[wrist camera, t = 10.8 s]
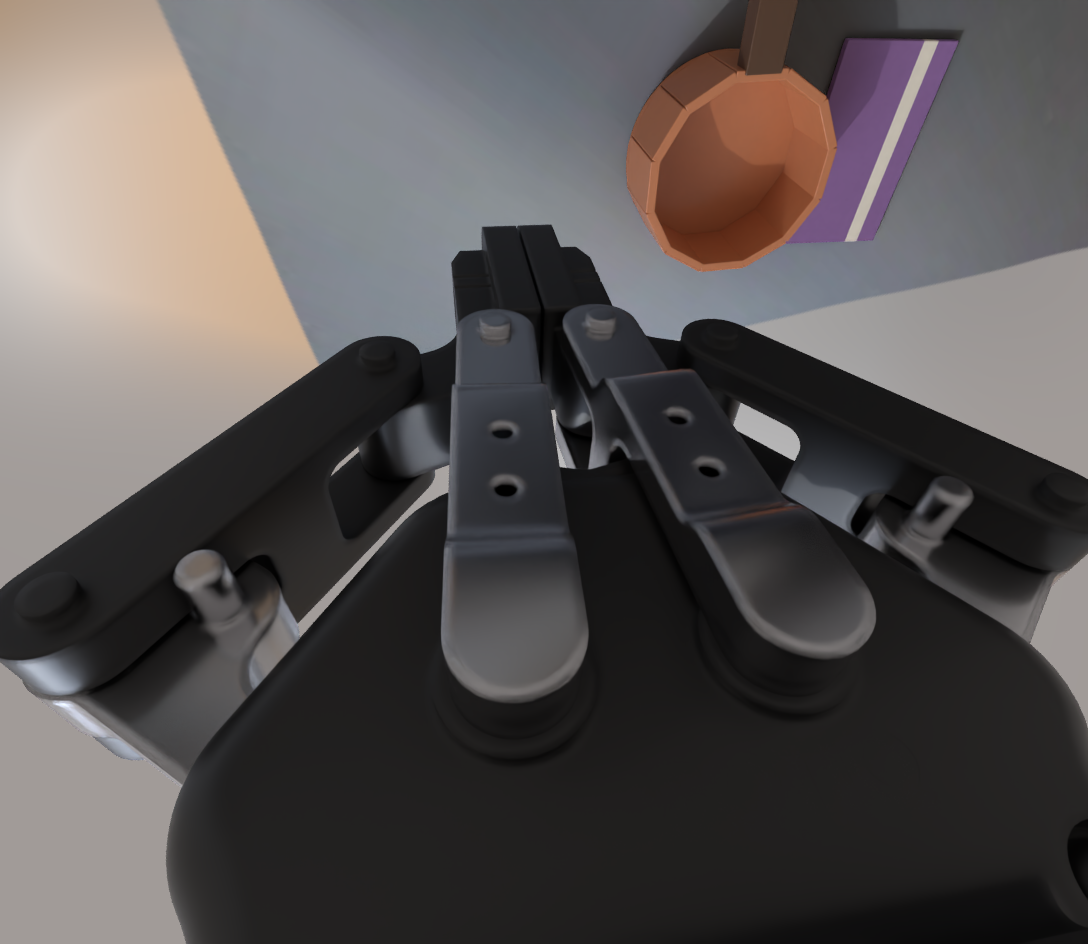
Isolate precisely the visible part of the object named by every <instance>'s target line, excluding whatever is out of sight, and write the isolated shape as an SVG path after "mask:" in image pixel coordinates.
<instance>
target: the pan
mask: <svg viewBox="0 0 1088 944" xmlns="http://www.w3.org/2000/svg"><path fill="white" fill-rule="evenodd" d="M797 4H798V0H749V3H748V8H747V14H746V19H745V25H744V30H743V36H742V41H741V47H740V49H729V48H728V49H721V50H715V51H712V52H708V53H705V54H702V55H700V56H698V57H696V58H693V59H691V60H690V61H688V62H686V63H685V64H683V65H682V66H680V67H679V68H677V69H676V70H675V71H674V72H672V73H671V74H670V75H669V76H668V77H667V78H666V79H665V80H664V81H663V82H662V83H661V84H660V85H659V86H658V87H657V88H656V90H655V91H654V92H653V93H652V94H651V96H650V97H649V99H648V100H647V102H646V103H645V105H644V107H643V108H642V110H641V112H640V114H639V116H638V118H637V120H636V122H635V125H634V128H633V130H632V133H631V137H630V141H629V145H628V151H627V158H626V173H627V186H628V187H627V188H628V190H629V192H630V194H631V197H632V199H633V202H634V204H635V205H636V207H637V209H638V211H639V213H640V215H641V217H642V219H643V221H644V223H645V225H646V226H647V228H648V229H649V231H650V232H651V234H652V235H653V237H654V238H655V240H656V242H657V243H658V245H659V246H660V248H661V249H662V251H663V252H664V253H665V254H666V255H668V256H670V257H672V258H674V259H676V260H678V261H680V262H682V263H683V264H685V265H687V266H689V267H691V268H693V269H695V270H697V271H701V272H704V271H715V270H726V269H737V268H743V266H744V267H746V266H748V265H749V264H751V263H753V262H754V261H756V260H758V259H760V258H761V257H763V256H765V255H766V254H768V253H770V252H772V251H773V250H775V249H777V248H778V247H780V246H782V245H784V244H785V243H786V241H789V239H790V238H791V237H792V236H793V235H794V233H795V232H796V231H797V230H798V228H799V227H800V226H801V225H802V223H803V222H804V221H805V220H806V218H807V217H808V216H809V215H810V213H811V212H812V211H813V210H814V208H815V207H816V206H817V205H818V203H819V202H820V201H821V200H820V199H822V196H823V193H824V190H825V187H826V183H827V180H828V177H829V174H830V170H831V167H832V164H833V161H834V157H835V154H836V151H837V148H836V147H837V141H836V136H835V131H834V126H833V121H832V116H831V111H830V106H829V101H828V98H827V96H826V95H825V94H823V93H822V92H821V91H819V90H818V89H817V88H816V87H814V86H813V85H812V84H811V83H809V82H808V81H807V80H806V79H804V78H803V77H802V76H801V75H799V74H798V73H797V72H796V71H794V70H793V69H792V68H790V67H788V66H786V65H784V61H785V56H786V52H787V48H788V43H789V39H790V35H791V30H792V26H793V21H794V17H795V13H796V8H797Z"/></svg>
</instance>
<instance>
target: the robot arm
mask: <svg viewBox="0 0 1088 944" xmlns="http://www.w3.org/2000/svg"><path fill="white" fill-rule="evenodd" d="M451 265H452V279H453V292H454V305H455V319H456V330H457V335H456V336H455V338H454V339H453V340H452V341H451V342H449V343H448V344H447V345H445V346H443V347H441V348H439V349H437V350H434V351H431V352H427V353H423V354H420V352H419V350H418V348H417V347H416V346H415V345H414V344H412V343H411V342H409V341H407V340H405V339H401V338H397V337H391V336H377V337H370V338H365V339H362V340H359V341H356V342H354V343H352V344H350V345H348V346H347V347H345V348H344V349H342V350H341V351H339V352H338V353H337V354H335V355H334V356H332V357H331V358H329V359H328V360H327V361H325V362H324V363H322V364H321V365H319V366H318V367H316V368H315V369H314V370H312V371H311V372H309V373H308V374H306V375H305V376H303V377H302V378H301V379H299V380H298V381H296V382H295V383H293V384H292V385H291V386H289V387H288V388H286V389H285V390H283V391H282V392H281V393H279V394H278V395H276V396H275V397H273V398H272V399H270V400H269V401H268V402H266V403H265V404H263V405H262V406H260V407H259V408H257V409H256V410H255V411H253V412H252V413H250V414H249V415H247V416H246V417H245V418H243V419H242V420H240V421H239V422H237V423H236V424H234V425H233V426H232V427H230V428H229V429H227V430H226V431H224V432H223V433H221V434H220V435H219V436H217V437H216V438H214V439H213V440H211V441H210V442H209V443H207V444H206V445H204V446H203V447H202V448H200V449H198V450H197V451H196V452H194V453H193V454H191V455H190V456H189V457H187V458H186V459H184V460H183V461H181V462H180V463H179V464H177V465H176V466H174V467H173V468H171V469H170V470H168V471H167V472H166V473H164V474H163V475H161V476H160V477H158V478H157V479H156V480H154V481H152V482H151V483H150V484H148V485H147V486H145V487H144V488H142V489H141V490H140V491H138V492H137V493H135V494H134V495H132V496H131V497H129V498H128V499H127V500H125V501H124V502H122V503H121V504H119V505H118V506H116V507H115V508H114V509H112V510H111V511H110V512H108V513H106V514H105V515H104V516H102V517H101V518H99V519H98V520H97V521H95V522H93V523H92V524H91V525H89V526H88V527H86V528H85V529H83V530H82V531H81V532H79V533H78V534H76V535H75V536H73V537H72V538H71V539H69V540H68V541H66V542H65V543H63V544H62V545H60V546H59V547H58V548H56V549H55V550H53V551H52V552H50V553H49V554H47V555H46V556H45V557H43V558H42V559H40V560H39V561H37V562H36V563H35V564H33V565H32V566H30V567H29V568H27V569H26V570H24V571H23V572H22V573H20V574H19V575H17V576H16V577H15V578H13V579H12V580H11V581H9V582H8V583H7V584H6V585H5V586H3V587H2V588H1V589H0V662H1V663H2V664H3V665H5V666H6V667H7V668H8V669H9V670H11V671H12V672H13V673H14V674H15V675H17V676H18V677H19V678H20V679H22V681H23V684H24V685H25V687H26V688H27V689H28V691H30V692H31V693H32V694H34V695H35V696H36V697H37V698H38V699H40V700H41V701H42V702H44V703H45V704H46V705H47V706H48V707H50V708H51V709H52V710H53V711H55V712H56V713H57V714H58V715H60V716H61V717H62V718H64V719H65V720H66V721H67V722H69V723H70V724H71V725H72V726H74V727H75V728H76V729H77V730H79V731H80V732H82V733H84V734H86V735H89V736H92V737H93V738H95V739H96V740H97V741H98V742H100V743H101V744H102V745H103V746H105V747H106V748H107V749H108V750H110V751H111V752H112V753H114V754H115V755H116V756H118V757H120V758H123V759H128V760H143V759H145V760H146V761H147V762H149V763H150V764H151V765H152V766H154V767H155V768H157V769H158V770H159V771H160V772H162V773H163V774H164V775H165V776H167V777H168V778H169V779H171V780H172V781H173V782H174V783H176V784H177V785H179V786H180V787H181V790H180V793H179V796H178V798H177V801H176V804H175V807H174V810H173V814H172V818H171V822H170V826H169V833H168V840H167V851H166V867H167V879H168V885H169V891H170V895H171V899H172V903H173V905H174V908H175V911H176V913H177V916H178V919H179V922H180V924H181V927H182V930H183V934H184V937H185V941H186V944H1088V728H1087V724H1086V721H1085V718H1084V716H1083V713H1082V711H1081V709H1080V707H1079V704H1078V702H1077V701H1076V699H1075V697H1074V695H1073V694H1072V692H1071V690H1070V689H1069V687H1068V685H1067V684H1066V683H1065V681H1064V680H1063V679H1062V677H1061V676H1060V675H1059V673H1058V672H1057V671H1056V669H1055V668H1054V667H1053V666H1052V665H1051V664H1050V663H1049V662H1048V661H1047V660H1046V658H1045V657H1044V656H1043V655H1042V654H1041V653H1039V652H1038V651H1037V650H1036V649H1035V648H1034V647H1033V646H1032V645H1031V644H1030V642H1031V639H1032V636H1033V633H1034V631H1035V628H1036V625H1037V623H1038V620H1039V617H1040V615H1041V612H1042V610H1043V607H1044V604H1045V602H1046V599H1047V596H1048V594H1049V591H1050V588H1051V586H1052V585H1054V584H1055V583H1056V582H1057V581H1058V580H1059V579H1060V578H1061V577H1062V576H1064V575H1065V574H1066V573H1067V572H1068V571H1069V570H1070V569H1071V568H1072V567H1073V566H1074V565H1076V564H1077V563H1078V562H1079V561H1080V560H1081V559H1082V558H1083V557H1085V555H1087V554H1088V479H1086V478H1084V477H1083V476H1081V475H1079V474H1077V473H1075V472H1073V471H1070V470H1068V469H1066V468H1064V467H1062V466H1059V465H1057V464H1055V463H1052V462H1050V461H1048V460H1046V459H1043V458H1041V457H1039V456H1037V455H1034V454H1032V453H1029V452H1027V451H1025V450H1023V449H1021V448H1018V447H1016V446H1014V445H1012V444H1009V443H1007V442H1005V441H1002V440H1000V439H998V438H996V437H993V436H991V435H989V434H986V433H984V432H982V431H980V430H977V429H975V428H973V427H971V426H968V425H966V424H964V423H962V422H959V421H957V420H955V419H952V418H950V417H948V416H946V415H943V414H941V413H938V412H936V411H934V410H932V409H930V408H927V407H925V406H923V405H920V404H918V403H916V402H914V401H911V400H909V399H907V398H905V397H902V396H900V395H898V394H896V393H893V392H891V391H889V390H886V389H884V388H882V387H879V386H877V385H875V384H873V383H871V382H868V381H866V380H864V379H861V378H859V377H857V376H855V375H852V374H850V373H848V372H846V371H843V370H841V369H839V368H836V367H834V366H832V365H830V364H827V363H825V362H823V361H820V360H818V359H816V358H814V357H811V356H809V355H807V354H805V353H802V352H800V351H798V350H796V349H793V348H791V347H789V346H786V345H784V344H782V343H779V342H777V341H775V340H773V339H770V338H768V337H766V336H764V335H761V334H759V333H757V332H755V331H752V330H750V329H748V328H746V327H743V326H741V325H739V324H736V323H733V322H730V321H725V320H719V319H702V320H697V321H694V322H692V323H690V324H688V325H687V326H686V327H685V328H684V329H683V332H682V336H681V340H680V341H675V340H668V339H661V338H654V337H649V336H646V335H645V334H644V332H643V331H642V329H641V328H640V326H639V324H638V323H637V321H636V320H635V319H634V317H633V316H632V315H631V314H629V313H628V312H626V311H624V310H622V309H620V308H617V307H614V306H612V304H611V301H610V299H609V297H608V295H607V293H606V291H605V289H604V286H603V284H602V282H600V278H599V276H598V274H597V272H596V269H595V267H594V265H593V263H592V261H591V259H590V257H589V256H587V255H586V254H585V253H583V252H582V251H581V250H579V249H578V248H577V247H560V245H559V242H558V240H557V237H556V235H555V232H554V230H553V227H552V225H523V226H518V227H517V228H516V226H494V227H482V250H477V251H460V252H459V253H458V254H457V256H456V257H455V258H454V260H453V261H452V263H451ZM740 403H743V404H745V405H747V406H749V407H751V408H753V409H755V410H757V411H759V412H761V413H763V414H765V415H767V416H769V417H771V418H773V419H775V420H777V421H779V422H780V423H782V424H784V425H787V426H788V427H790V428H791V429H792V430H793V431H794V432H795V433H796V434H797V436H798V438H799V441H800V451H799V454H798V455H797V458H796V460H795V461H793V460H791V459H789V458H787V457H785V456H783V455H782V454H780V453H778V452H776V451H774V450H772V449H770V448H768V447H767V446H764V445H763V444H761V443H759V442H757V441H755V440H753V439H751V438H750V437H748V436H746V435H744V434H742V433H740V432H738V431H737V430H736V429H735V427H734V426H733V424H734V421H735V418H736V415H737V412H738V409H739V406H740ZM551 410H555V411H556V415H557V416H556V431H555V433H554V426H553V420H552V413H551ZM555 436H556V439H557V443H558V445H559V448H560V451H561V453H562V456H563V459H564V461H565V463H566V466H567V468H562V467H560V466H559V460H558V453H557V446H556V440H555ZM357 447H358V448H359V452H358V453H357V454H356V455H355V456H354V457H353V458H351V459H350V460H349V461H348V462H347V463H346V464H345V465H344V466H342V467H341V468H340V469H339V470H338V471H337V472H335V473H334V474H333V475H332V476H331V474H332V472H333V470H334V469H335V467H336V466H337V465H338V463H339V462H340V461H342V460H343V459H344V458H345V457H346V456H347V455H348V454H350V453H351V452H352V451H353V450H354V449H356V448H357ZM447 465H449V493H446V494H444V495H441V496H439V497H438V498H436V499H434V500H432V501H430V502H428V503H427V504H425V505H424V506H422V507H421V508H419V509H418V510H416V511H415V512H414V513H413V514H412V515H411V516H409V517H408V518H407V519H406V520H405V521H404V522H403V523H402V524H401V525H400V526H399V527H398V528H397V530H395V532H394V533H393V534H392V535H391V536H390V537H389V538H388V539H387V541H386V542H385V543H384V544H383V545H382V546H381V547H380V548H379V550H378V551H377V552H376V553H375V554H374V555H373V556H372V557H371V559H370V560H369V561H368V562H367V563H366V564H365V565H364V567H363V568H362V569H361V570H360V571H359V572H358V573H357V574H356V575H355V577H354V578H353V579H352V580H351V581H350V582H349V583H348V584H347V586H346V587H345V588H344V589H343V590H342V591H341V592H340V594H339V595H338V596H337V597H336V598H335V599H334V600H333V601H332V603H331V604H330V605H329V606H328V607H327V608H326V609H325V610H324V612H323V613H322V614H321V615H320V616H319V617H318V618H317V620H316V621H315V622H314V623H313V624H312V625H311V626H310V627H309V628H308V630H307V631H306V632H305V633H304V634H303V635H302V636H301V637H300V639H299V628H298V625H297V624H298V623H299V622H300V621H301V620H302V618H303V617H304V616H305V615H306V614H307V613H308V612H309V611H310V610H311V609H312V608H313V607H314V606H315V605H316V604H317V603H318V602H319V601H320V600H321V599H322V598H323V597H324V596H325V594H327V593H328V591H329V590H330V589H331V588H332V587H333V586H334V585H335V584H336V583H337V582H338V581H339V580H340V579H341V578H342V577H343V576H344V575H345V574H346V573H347V572H348V571H349V570H350V569H351V568H352V567H353V565H354V564H355V563H356V562H357V561H358V560H359V559H360V558H361V557H362V556H363V555H364V554H365V553H366V552H367V551H368V550H369V549H370V548H371V547H372V546H373V545H374V544H375V543H376V542H377V541H378V540H379V538H380V537H381V536H382V535H383V534H384V533H385V532H386V531H387V530H388V529H389V528H390V527H391V526H392V525H393V524H394V523H395V522H396V521H397V520H398V519H399V518H400V517H401V515H403V514H404V512H405V511H406V510H407V509H408V508H409V507H410V506H411V505H412V504H413V503H414V502H415V501H416V500H417V499H418V498H419V497H420V496H421V495H422V494H423V493H424V492H425V491H426V490H427V489H428V488H429V486H430V485H431V483H432V482H433V480H434V477H435V470H436V469H439V468H441V467H444V466H447Z"/></svg>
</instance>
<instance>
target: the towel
mask: <svg viewBox="0 0 1088 944" xmlns="http://www.w3.org/2000/svg"><path fill="white" fill-rule="evenodd" d="M958 42H959V41H958V40H955V39H886V38H845V40H844V43H843V46H842V50H841V53H840V56H839V59H838V62H837V65H836V68H835V71H834V74H833V78H832V81H831V84H830V87H829V90H828V93H827V98H828V101H829V106H830V111H831V116H832V121H833V126H834V131H835V136H836V141H837V147H836V148H837V151H836V154H835V157H834V161H833V164H832V167H831V170H830V174H829V177H828V180H827V183H826V187H825V190H824V193H823V196H822V199H820V200H821V201H820V202H819V203H818V205H817V206H816V207H815V208H814V210H813V211H812V212H811V213H810V215H809V216H808V217H807V218H806V220H805V221H804V222H803V223H802V225H801V226H800V227H799V228H798V230H797V231H796V232H795V233H794V235H793V236H792V237H791V238H790V239H789V241H786V243H785V244H788V243H814V242H841V241H867V240H873V239H874V236H875V234H876V232H877V230H878V227H879V225H880V223H881V220H882V218H883V216H884V213H885V211H886V209H887V206H888V204H889V202H890V199H891V197H892V195H893V193H894V190H895V188H896V186H897V183H898V181H899V179H900V176H901V174H902V172H903V169H904V167H905V165H906V162H907V160H908V158H909V156H910V153H911V151H912V149H913V146H914V144H915V142H916V139H917V137H918V135H919V132H920V130H921V128H922V125H923V123H924V121H925V119H926V116H927V114H928V112H929V109H930V107H931V105H932V102H933V100H934V98H935V95H936V93H937V91H938V88H939V86H940V84H941V81H942V79H943V77H944V75H945V72H946V70H947V68H948V65H949V63H950V61H951V58H952V56H953V54H954V51H955V49H956V47H957V44H958Z"/></svg>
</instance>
